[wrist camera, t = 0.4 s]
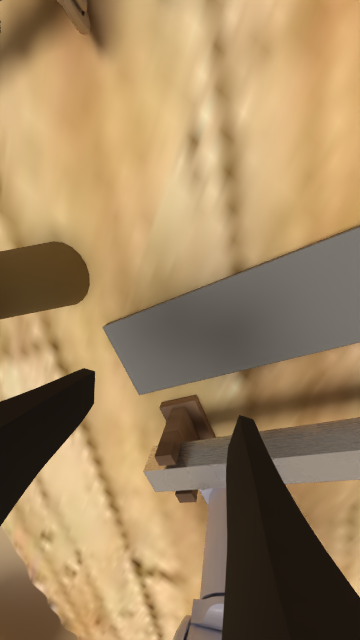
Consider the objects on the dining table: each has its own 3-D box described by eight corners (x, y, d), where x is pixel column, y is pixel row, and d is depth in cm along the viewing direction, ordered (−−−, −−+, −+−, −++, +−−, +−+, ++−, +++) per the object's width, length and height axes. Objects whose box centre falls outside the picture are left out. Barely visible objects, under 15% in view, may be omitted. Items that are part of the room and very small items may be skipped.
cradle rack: (445, 409, 17) (552, 493, 11) (183, 445, 25) (168, 506, 19) (436, 343, 16) (551, 400, 10) (161, 402, 23) (138, 454, 18)
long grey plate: (460, 311, 15) (472, 315, 14) (141, 390, 23) (139, 395, 23) (447, 191, 13) (459, 188, 12) (106, 324, 21) (102, 327, 21)
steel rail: (510, 428, 13) (567, 466, 11) (163, 465, 21) (155, 492, 19) (508, 396, 12) (567, 429, 10) (153, 446, 20) (143, 471, 18)
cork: (23, 269, 22) (-162, 292, 11) (56, 226, 19) (-137, 210, 9) (65, 316, 22) (-74, 378, 12) (101, 281, 20) (-31, 321, 10)
